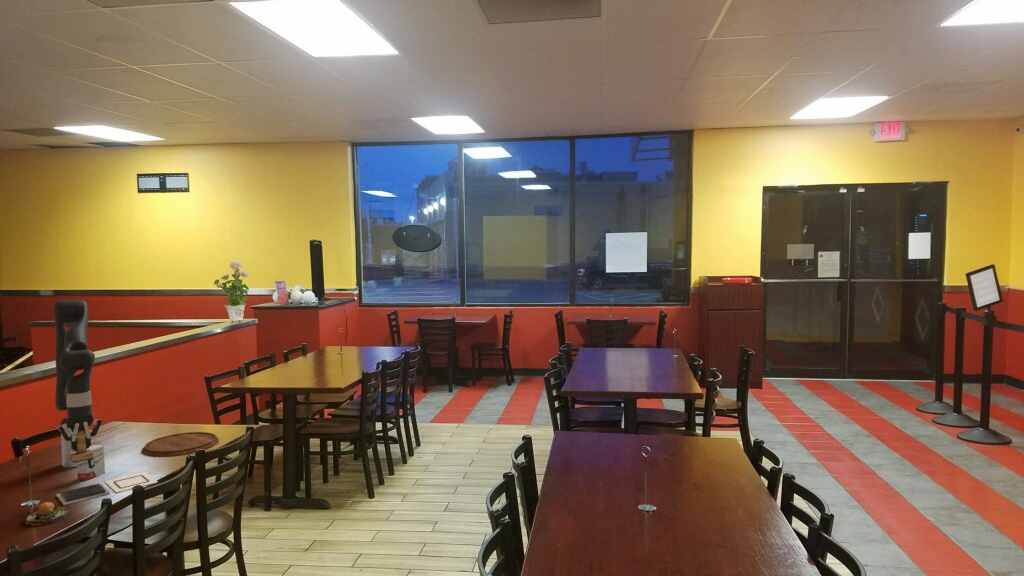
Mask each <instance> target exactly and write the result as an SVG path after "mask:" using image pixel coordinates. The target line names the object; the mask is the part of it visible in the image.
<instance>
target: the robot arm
mask: <svg viewBox="0 0 1024 576" xmlns="http://www.w3.org/2000/svg"><path fill="white" fill-rule="evenodd" d="M88 305H89V304H88V303H87V301H85V300H84V299H83V300H82V299H72V300H71V299H67V300H66V299H65V300H58V301H55V304H54V306H53V317H54V327H55V329H54V330H55V371H56V373H55V374H56V382H55V396H54V397H55V398H54V400H55V401H54V404H55V408H56V409H57V411H61V412H62V411H66V417H64V418H62V419H61V421H60V425H58V426H57V430H58V431H59V432H60V436H61V457H62V461H61V463H62V464H61V465H62V467H63V468H68V469H69V468H77V462H76V463H73V462H72V461H71V460H70V452H75V451H77V442H76V435H77V432H78V431H81V430H82V431H84V430H85V432H86V448H87V449H88V448H89V447H90V446H92V442H91V441H92V440H91V439H92V437H96V436H97V434H98V432H99V429H100V427H101V424H103V423H102V422H103V420H101V418H97V419H96V418H94V416H93V407H92V406H93V405H92V404H93V403H92V401H93V399H92V393H91V392H92V391H91V376H92V375H91V374H92V371H93V368H94V364H95V360H96V356H95V353H94V352H93V351H92V350H90V349H88V337H87V336H88V335H87V332H88V326H89V325H88V324H89V306H88ZM66 324H73V326H71V327H70V328H68V327H67V326H66ZM79 370H82V371H81V372H79V374H77V373H78V371H79ZM92 424H93V427H92V430H91V432H90V426H91V425H92Z"/></svg>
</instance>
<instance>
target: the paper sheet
mask: <svg viewBox="0 0 1024 576" xmlns="http://www.w3.org/2000/svg"><path fill="white" fill-rule="evenodd" d="M158 482H159V481H157V480H156V479H154V478H153V477H152V476H151V475H149V474H148V473H147V472H145V471H144V472H140V473H136V474H131V475H127V476H124V477H119V478H115V479H111V480H105V481H104V483H105V484H106V485H107V486H108V487H110V489H111V490H113V491H114V492H115V494H118V493H122V492H125V491H124V490H126V491H130V490H133V489H132V487H133V486H134V485H142V487H145V486H149V485H154V484H158ZM146 483H148V484H146ZM121 491H122V492H121ZM117 492H118V493H117Z"/></svg>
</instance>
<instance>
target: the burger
mask: <svg viewBox="0 0 1024 576" xmlns="http://www.w3.org/2000/svg"><path fill="white" fill-rule="evenodd" d="M69 515H70V508H69V507H65V506H61V505H57V506H56V507H55V505H54V503H53V502H50V501H46V502H45V501H43V503H41V504H40V505H38V507H37V511H35V512H32V513H30V514H29V515H27V516H26V517H25V520H24V522H25V525H26V526H27V525H31V527H36V526H46V525H51V524H55V523H58V522H60V521H61V520H64V519H66V518H67V517H68V516H69Z"/></svg>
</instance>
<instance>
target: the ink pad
mask: <svg viewBox="0 0 1024 576" xmlns="http://www.w3.org/2000/svg"><path fill="white" fill-rule="evenodd" d="M107 495H110V491H109V490H108V489H107V488H106V487H105V486H104V485H103V484H102V483H95V484H92V485H91V484H90V485H87V486H81V487H79V488H75V489H70V490H66V491H60V492H59V493H56V497H57V499H58V501H60V502H61V504H62V505H63V506H66V505H70V504H74V503H79V502H82V501H88V500H90V499H94V498H99V497H102V496H107Z"/></svg>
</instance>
